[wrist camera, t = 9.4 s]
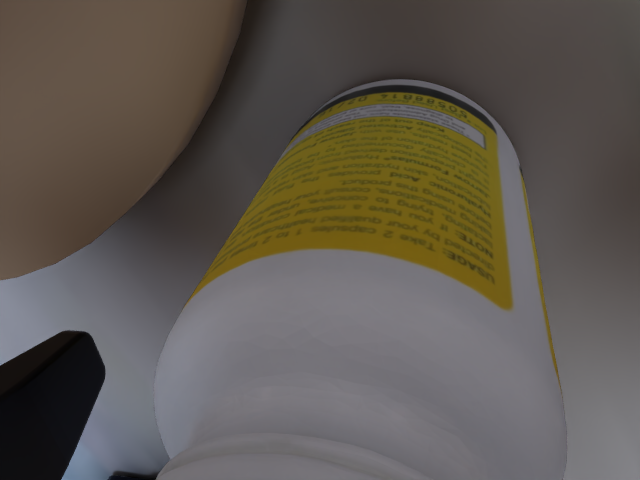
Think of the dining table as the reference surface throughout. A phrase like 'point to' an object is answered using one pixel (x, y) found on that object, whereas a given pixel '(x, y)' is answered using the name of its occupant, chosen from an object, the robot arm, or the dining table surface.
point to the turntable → (97, 111)
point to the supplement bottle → (372, 310)
